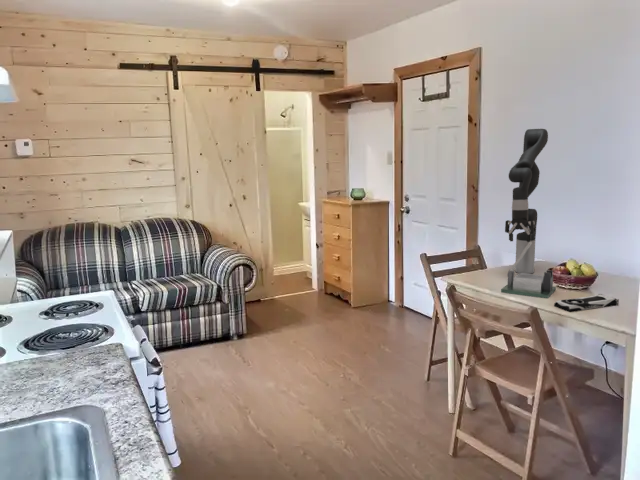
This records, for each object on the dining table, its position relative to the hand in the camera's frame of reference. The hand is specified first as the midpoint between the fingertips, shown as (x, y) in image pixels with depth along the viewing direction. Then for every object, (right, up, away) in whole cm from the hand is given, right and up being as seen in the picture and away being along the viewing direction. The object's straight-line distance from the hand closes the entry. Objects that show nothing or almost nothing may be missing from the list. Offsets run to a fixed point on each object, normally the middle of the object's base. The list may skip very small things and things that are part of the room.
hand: (519, 241), depth 267 cm
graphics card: (+11, -27, -44) cm, 52 cm away
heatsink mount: (-4, -22, -21) cm, 31 cm away
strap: (-7, -8, -21) cm, 24 cm away
